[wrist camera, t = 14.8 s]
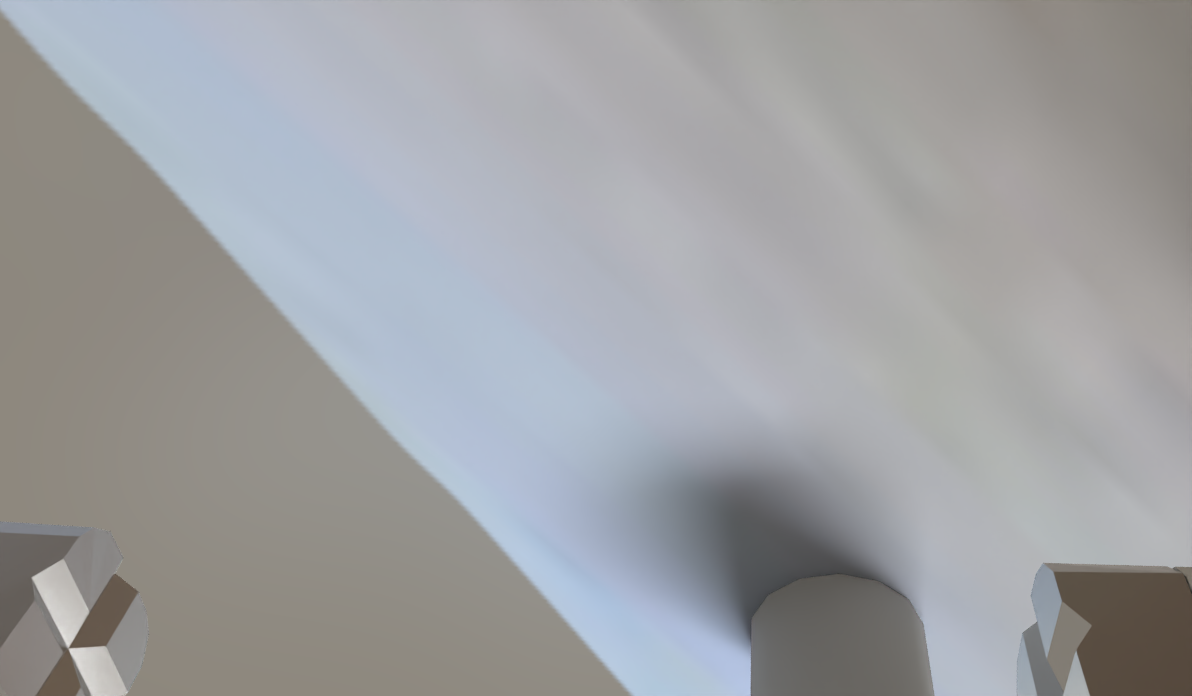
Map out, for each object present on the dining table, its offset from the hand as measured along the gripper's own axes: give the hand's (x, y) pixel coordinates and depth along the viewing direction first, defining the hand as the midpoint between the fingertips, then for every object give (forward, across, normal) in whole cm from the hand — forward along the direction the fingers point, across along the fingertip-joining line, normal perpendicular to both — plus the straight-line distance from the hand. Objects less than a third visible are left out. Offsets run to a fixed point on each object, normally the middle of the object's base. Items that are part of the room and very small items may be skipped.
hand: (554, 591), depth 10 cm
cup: (+31, -6, +36) cm, 48 cm away
